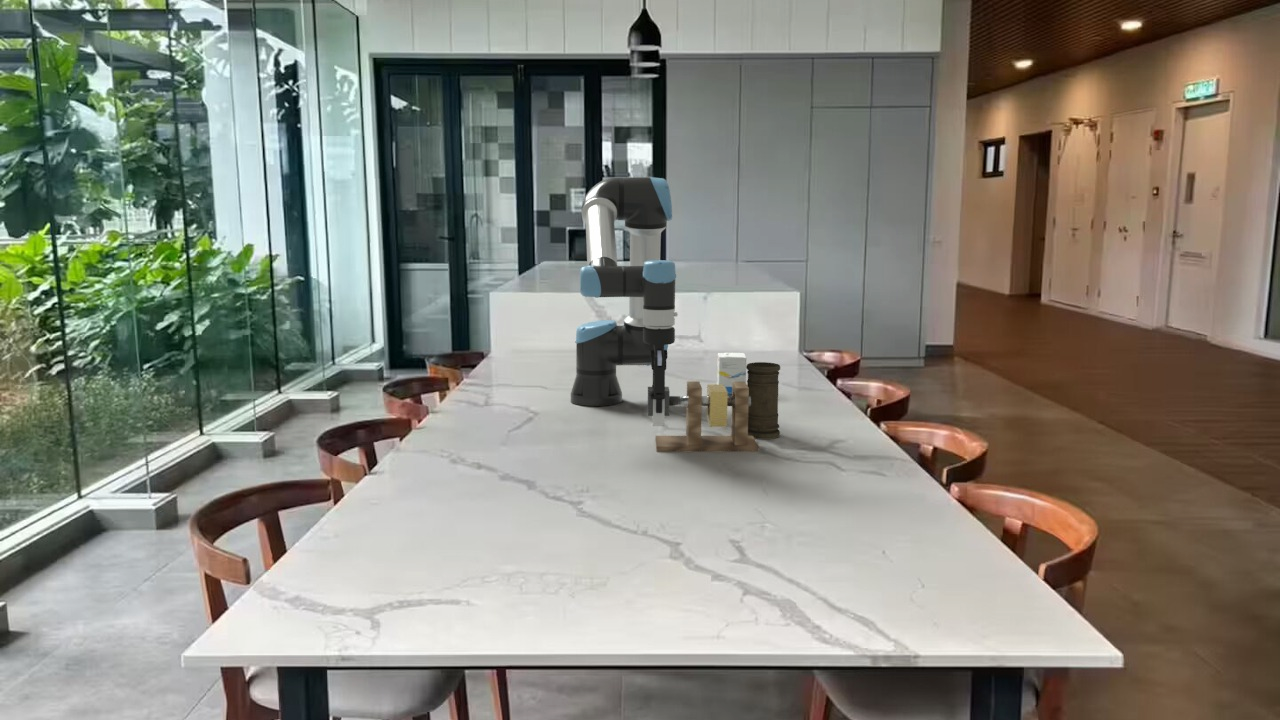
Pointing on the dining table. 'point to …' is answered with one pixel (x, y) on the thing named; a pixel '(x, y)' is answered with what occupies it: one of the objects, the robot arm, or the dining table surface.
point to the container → (763, 400)
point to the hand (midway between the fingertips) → (658, 422)
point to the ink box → (731, 369)
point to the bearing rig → (712, 443)
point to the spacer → (717, 406)
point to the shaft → (682, 401)
